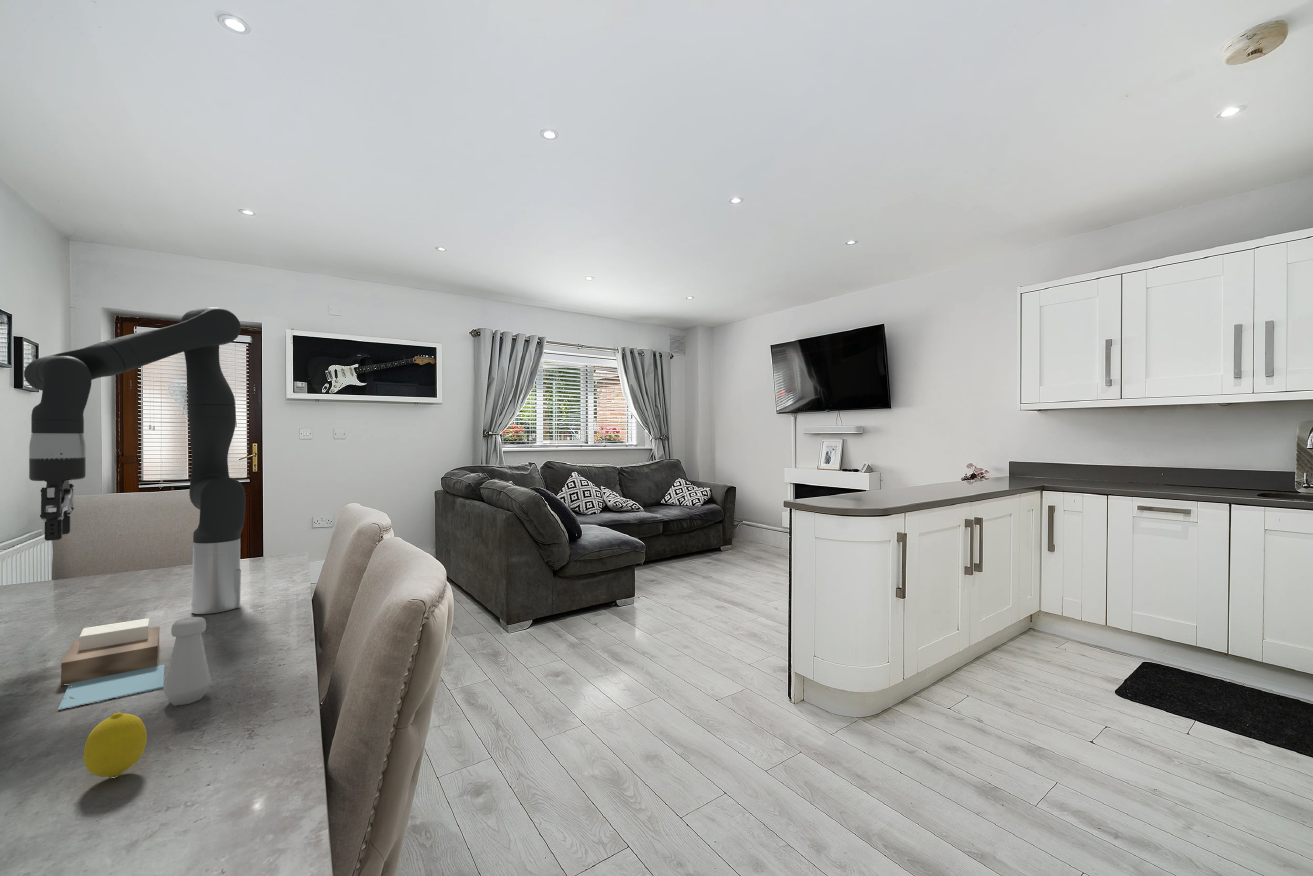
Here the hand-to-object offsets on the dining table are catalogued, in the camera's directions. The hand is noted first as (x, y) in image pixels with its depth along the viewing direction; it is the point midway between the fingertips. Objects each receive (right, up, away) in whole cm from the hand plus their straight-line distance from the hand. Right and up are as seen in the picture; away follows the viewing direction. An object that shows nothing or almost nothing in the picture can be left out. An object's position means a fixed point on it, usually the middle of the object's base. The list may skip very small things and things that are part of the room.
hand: (57, 537), depth 107 cm
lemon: (+53, -23, -40) cm, 70 cm away
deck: (+18, -23, -7) cm, 30 cm away
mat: (+28, -23, -16) cm, 39 cm away
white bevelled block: (+17, -19, -5) cm, 26 cm away
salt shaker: (+44, -23, -20) cm, 53 cm away
